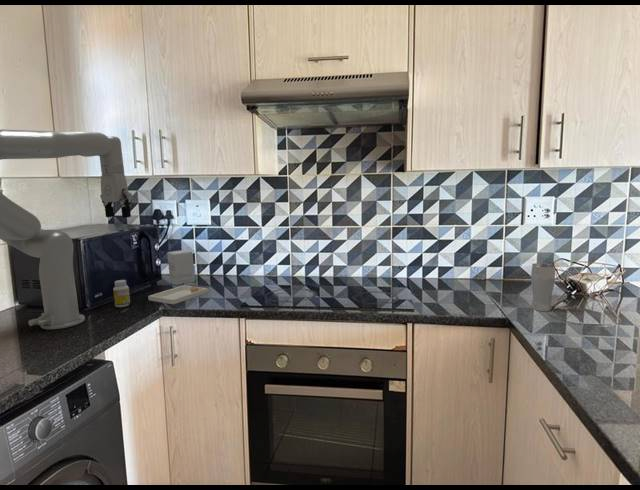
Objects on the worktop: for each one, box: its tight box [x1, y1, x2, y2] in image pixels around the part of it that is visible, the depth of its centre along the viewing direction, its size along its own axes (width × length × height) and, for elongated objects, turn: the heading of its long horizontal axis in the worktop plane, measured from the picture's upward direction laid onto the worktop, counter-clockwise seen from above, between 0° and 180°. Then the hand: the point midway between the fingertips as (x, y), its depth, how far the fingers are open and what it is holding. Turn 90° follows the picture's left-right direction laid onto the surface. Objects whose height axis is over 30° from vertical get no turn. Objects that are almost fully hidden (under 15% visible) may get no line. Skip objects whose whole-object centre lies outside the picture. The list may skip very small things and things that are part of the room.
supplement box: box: [166, 249, 196, 286], centre depth 185 cm, size 9×9×15 cm
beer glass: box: [530, 262, 556, 312], centre depth 133 cm, size 7×7×15 cm
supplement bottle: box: [112, 279, 131, 308], centre depth 152 cm, size 5×5×10 cm
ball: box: [190, 286, 199, 293], centre depth 163 cm, size 3×3×3 cm
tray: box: [147, 284, 209, 305], centre depth 160 cm, size 18×14×2 cm
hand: (118, 217), depth 150 cm, fingers open, 9 cm apart
